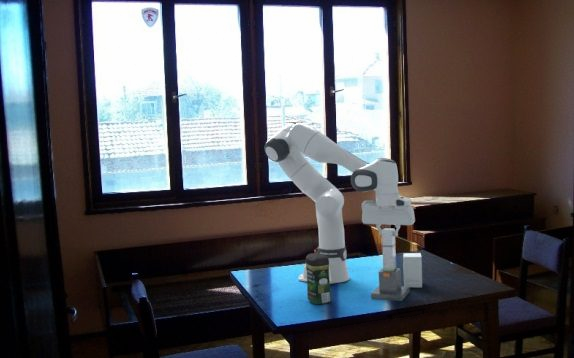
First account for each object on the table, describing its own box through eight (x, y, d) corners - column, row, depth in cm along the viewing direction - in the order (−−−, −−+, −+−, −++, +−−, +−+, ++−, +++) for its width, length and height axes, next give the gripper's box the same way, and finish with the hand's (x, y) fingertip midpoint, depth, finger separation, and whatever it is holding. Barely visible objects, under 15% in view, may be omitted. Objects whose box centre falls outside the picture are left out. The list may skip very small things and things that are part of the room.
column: (383, 275, 232) (381, 230, 230) (386, 273, 236) (384, 228, 234) (393, 276, 230) (392, 230, 228) (396, 273, 234) (394, 228, 232)
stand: (371, 298, 231) (370, 273, 230) (380, 289, 242) (379, 265, 241) (401, 301, 226) (400, 275, 225) (409, 291, 236) (408, 267, 235)
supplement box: (422, 287, 241) (421, 256, 240) (403, 287, 243) (402, 257, 242) (422, 282, 249) (421, 252, 247) (404, 282, 250) (403, 252, 249)
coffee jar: (304, 299, 234) (302, 253, 232) (322, 296, 237) (320, 250, 235) (315, 306, 225) (312, 258, 223) (334, 303, 228) (331, 255, 226)
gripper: (358, 201, 232) (360, 236, 233) (411, 201, 223) (412, 238, 224) (363, 198, 237) (365, 233, 239) (415, 199, 228) (416, 235, 230)
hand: (388, 235), depth 231 cm, fingers closed on column, 4 cm apart
